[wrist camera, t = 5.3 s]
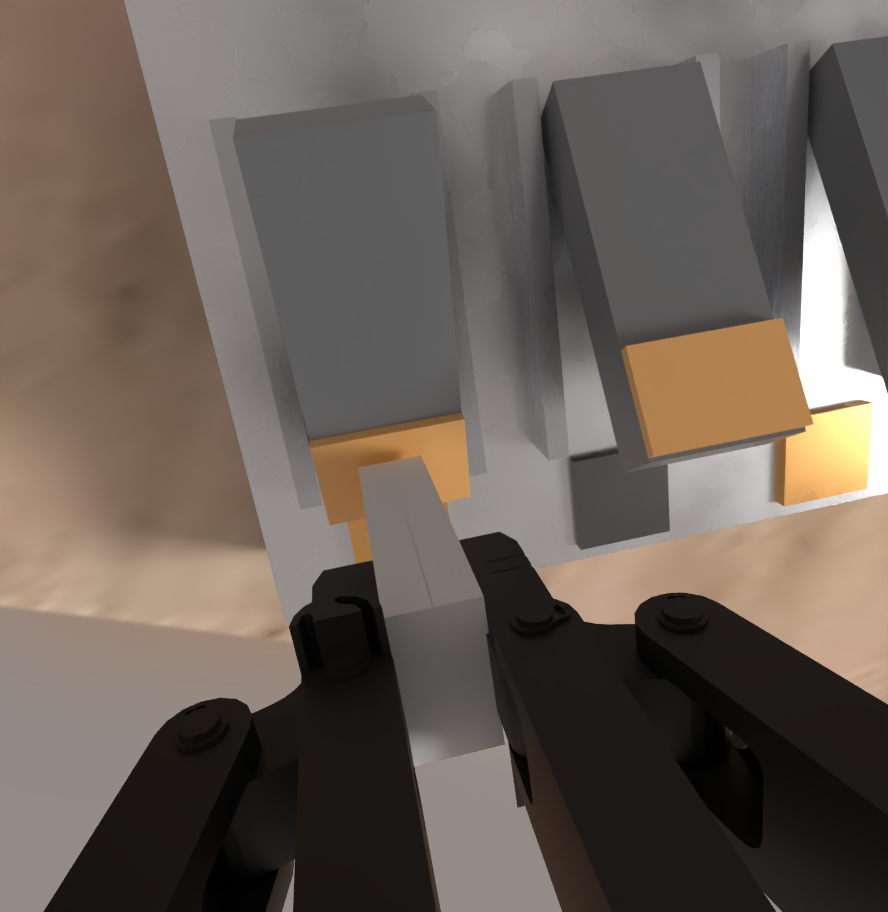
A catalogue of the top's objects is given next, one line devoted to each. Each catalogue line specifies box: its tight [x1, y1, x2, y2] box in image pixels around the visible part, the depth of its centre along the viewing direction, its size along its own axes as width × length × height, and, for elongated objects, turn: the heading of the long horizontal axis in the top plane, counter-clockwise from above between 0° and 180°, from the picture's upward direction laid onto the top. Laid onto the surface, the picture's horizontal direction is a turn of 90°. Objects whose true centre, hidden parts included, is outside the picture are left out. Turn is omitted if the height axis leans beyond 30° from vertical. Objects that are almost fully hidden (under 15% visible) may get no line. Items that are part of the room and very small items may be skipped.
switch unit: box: [124, 0, 888, 623], centre depth 21 cm, size 18×22×6 cm
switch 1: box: [233, 95, 471, 525], centre depth 15 cm, size 9×4×2 cm, turn 8°
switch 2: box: [541, 61, 813, 473], centre depth 16 cm, size 9×4×2 cm, turn 8°
